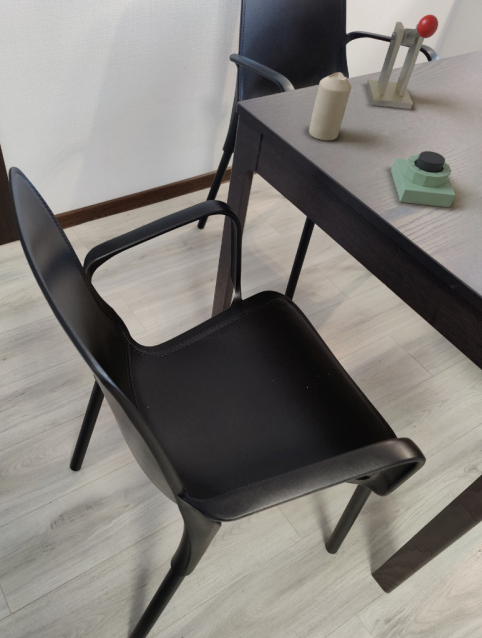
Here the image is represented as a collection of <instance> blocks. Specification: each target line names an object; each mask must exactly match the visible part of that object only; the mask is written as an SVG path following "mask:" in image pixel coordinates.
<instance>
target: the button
mask: <svg viewBox="0 0 482 638" xmlns="http://www.w3.org/2000/svg"><path fill="white" fill-rule="evenodd" d="M419 154H420V155H419V157H418V160H417V162H416V167H418V168H419V169H420V170H423V171H426V172H430V173H438V172H440V171H441V169H442V167H443V165H444V162H446V158H445V157H444V155H442V154H440V153H438V152H435V151H432V150H425V151H424V150H423V151H421V152H420V153H419Z"/></svg>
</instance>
